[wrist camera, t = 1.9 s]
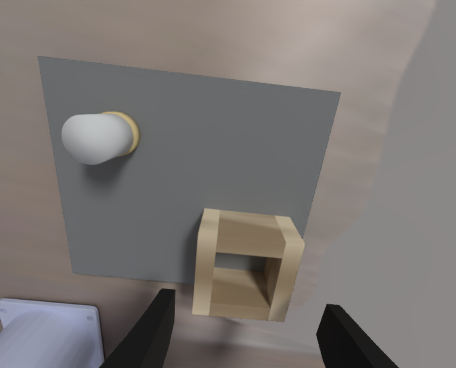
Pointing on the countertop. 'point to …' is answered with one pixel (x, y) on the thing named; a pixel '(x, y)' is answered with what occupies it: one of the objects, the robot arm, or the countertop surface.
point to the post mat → (175, 161)
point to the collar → (242, 279)
